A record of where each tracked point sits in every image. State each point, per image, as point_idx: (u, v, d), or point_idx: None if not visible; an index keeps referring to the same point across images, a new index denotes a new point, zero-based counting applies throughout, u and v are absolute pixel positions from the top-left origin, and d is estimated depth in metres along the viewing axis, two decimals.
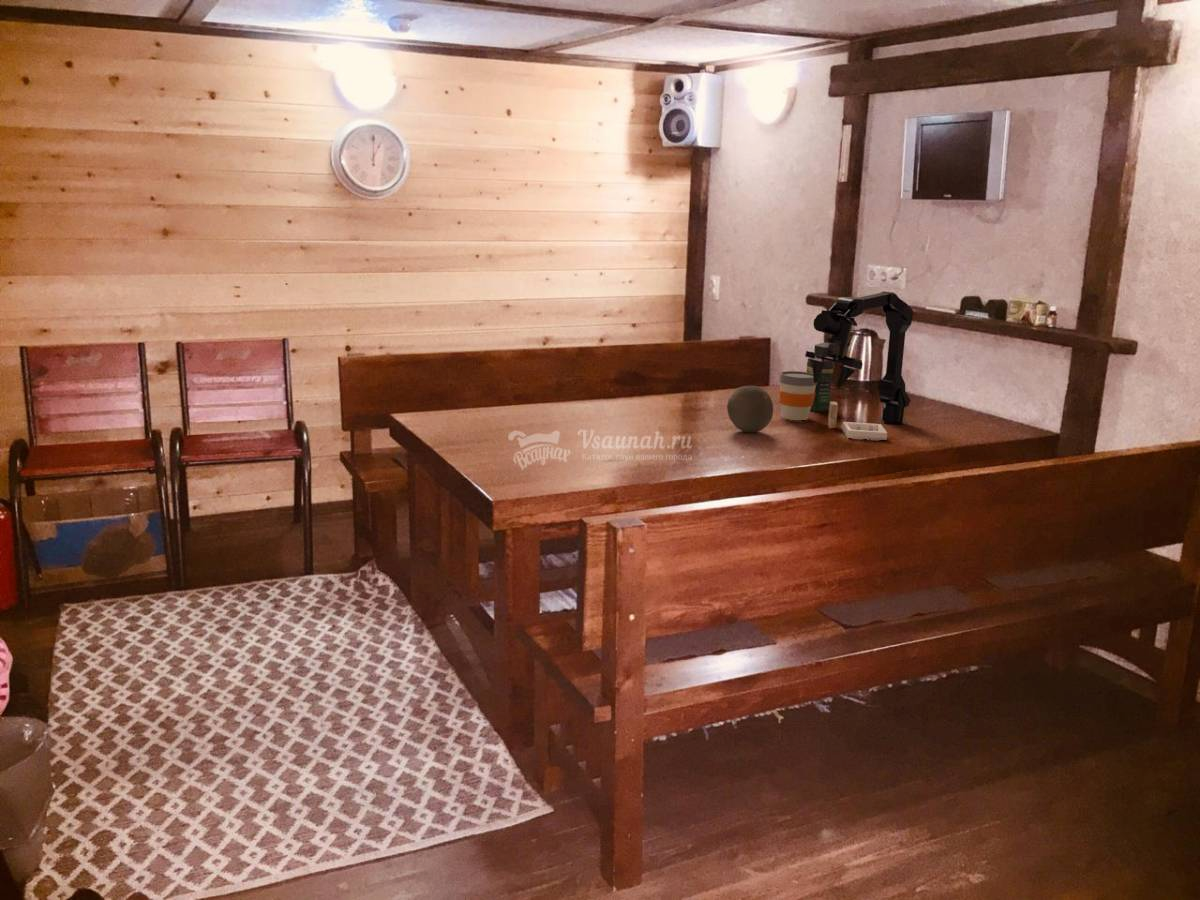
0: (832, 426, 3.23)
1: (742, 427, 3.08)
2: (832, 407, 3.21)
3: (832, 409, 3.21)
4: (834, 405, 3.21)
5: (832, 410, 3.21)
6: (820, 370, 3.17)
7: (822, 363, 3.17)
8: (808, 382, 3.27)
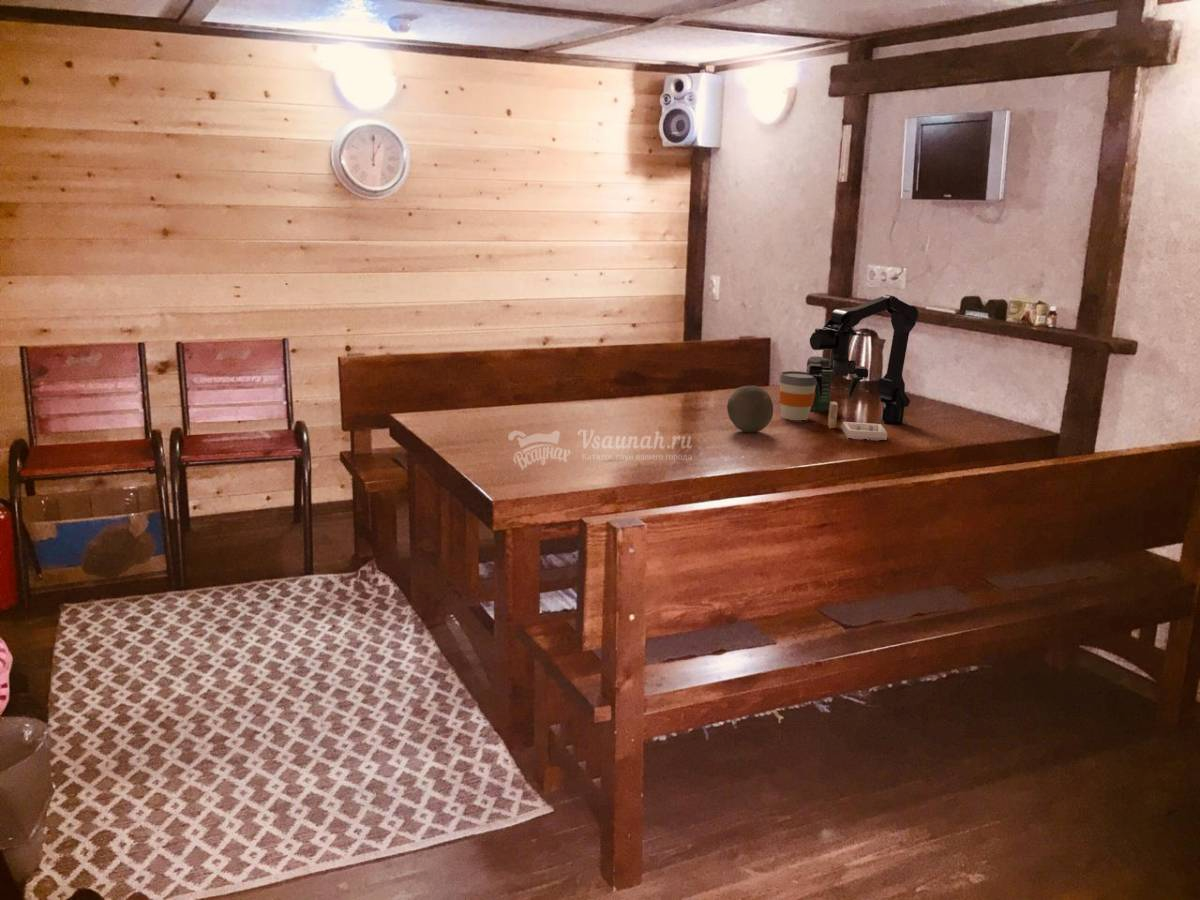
0: (832, 426, 3.23)
1: (742, 427, 3.08)
2: (832, 407, 3.21)
3: (832, 409, 3.21)
4: (834, 405, 3.21)
5: (832, 410, 3.21)
6: None
7: None
8: (808, 382, 3.27)
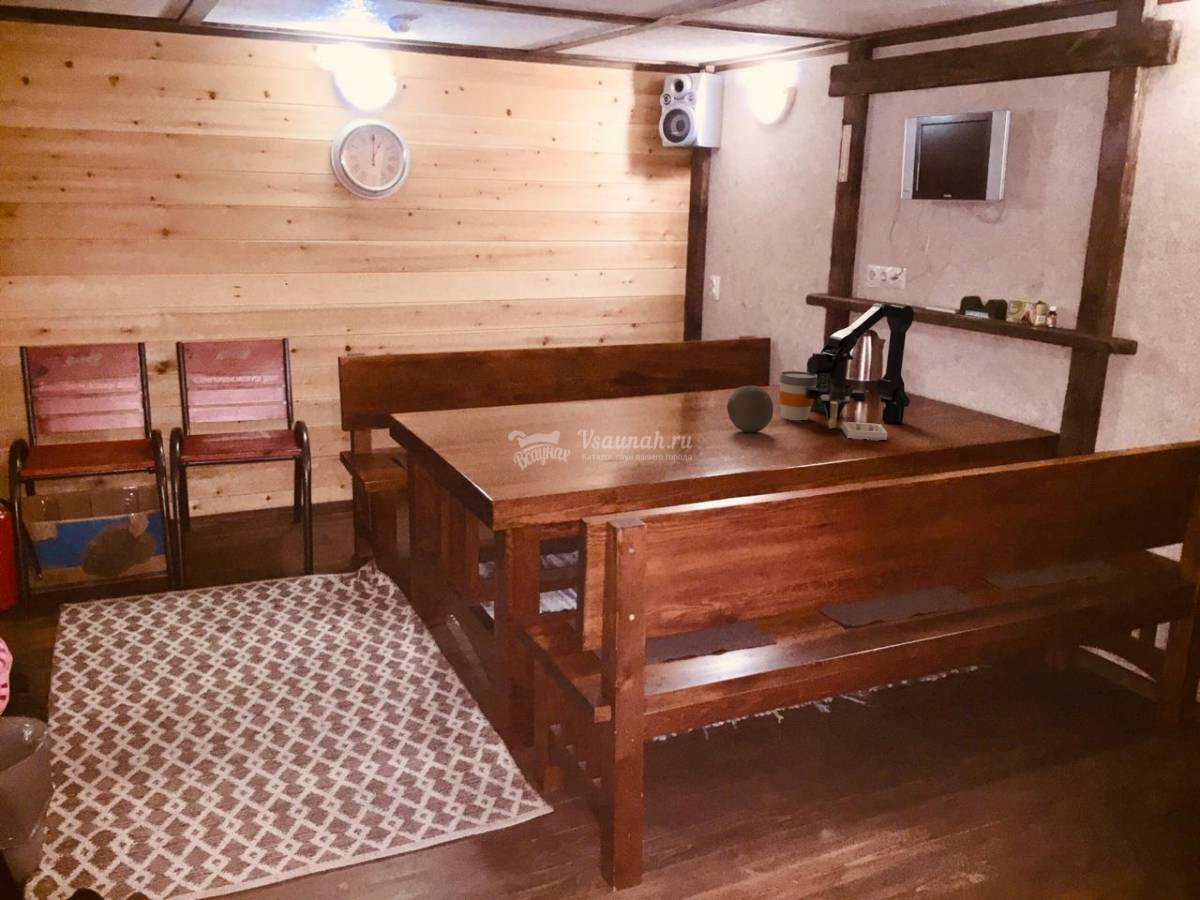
0: (832, 426, 3.23)
1: (742, 427, 3.08)
2: (832, 407, 3.21)
3: (832, 409, 3.21)
4: (834, 405, 3.21)
5: (832, 410, 3.21)
6: None
7: None
8: (808, 382, 3.27)
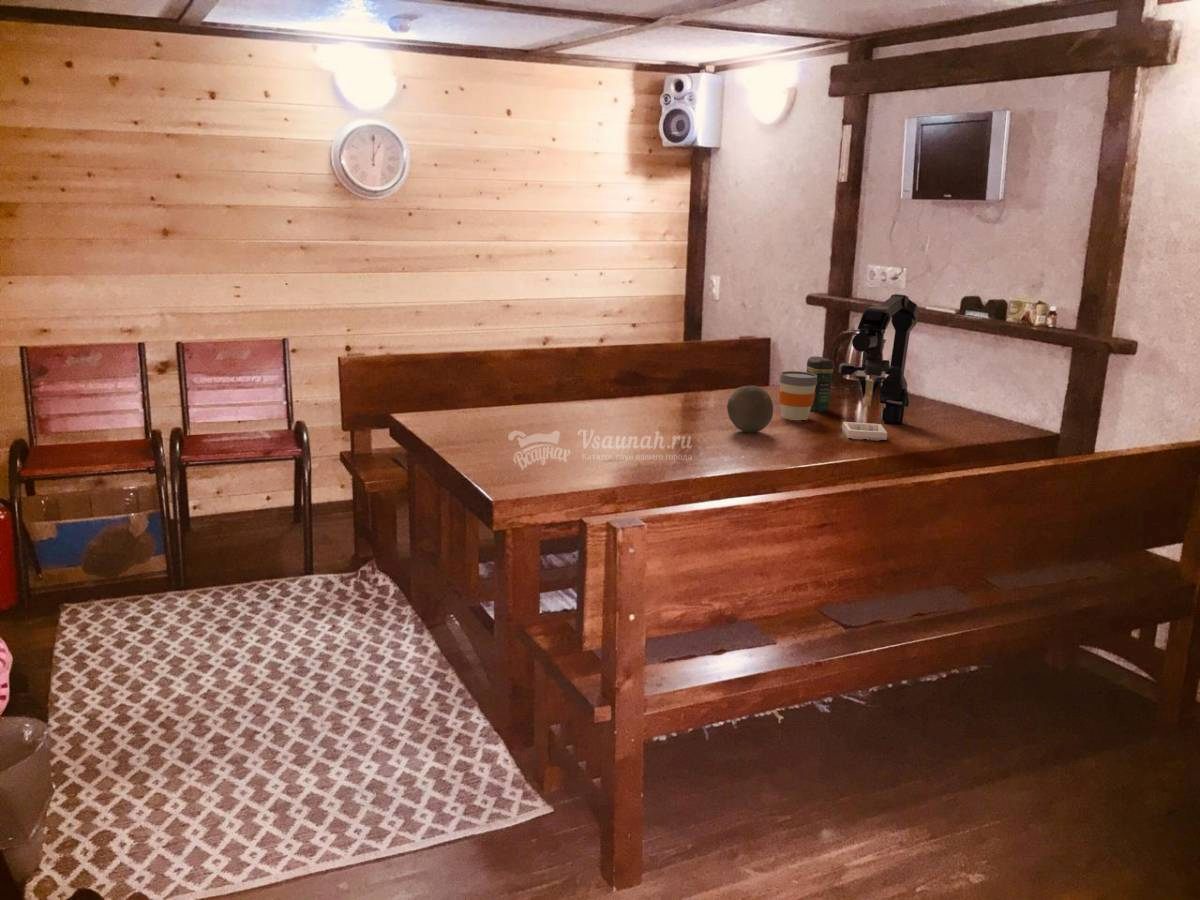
0: (867, 404, 3.11)
1: (742, 427, 3.08)
2: (867, 384, 3.09)
3: (867, 386, 3.10)
4: (869, 382, 3.09)
5: (867, 387, 3.10)
6: None
7: None
8: (808, 382, 3.27)
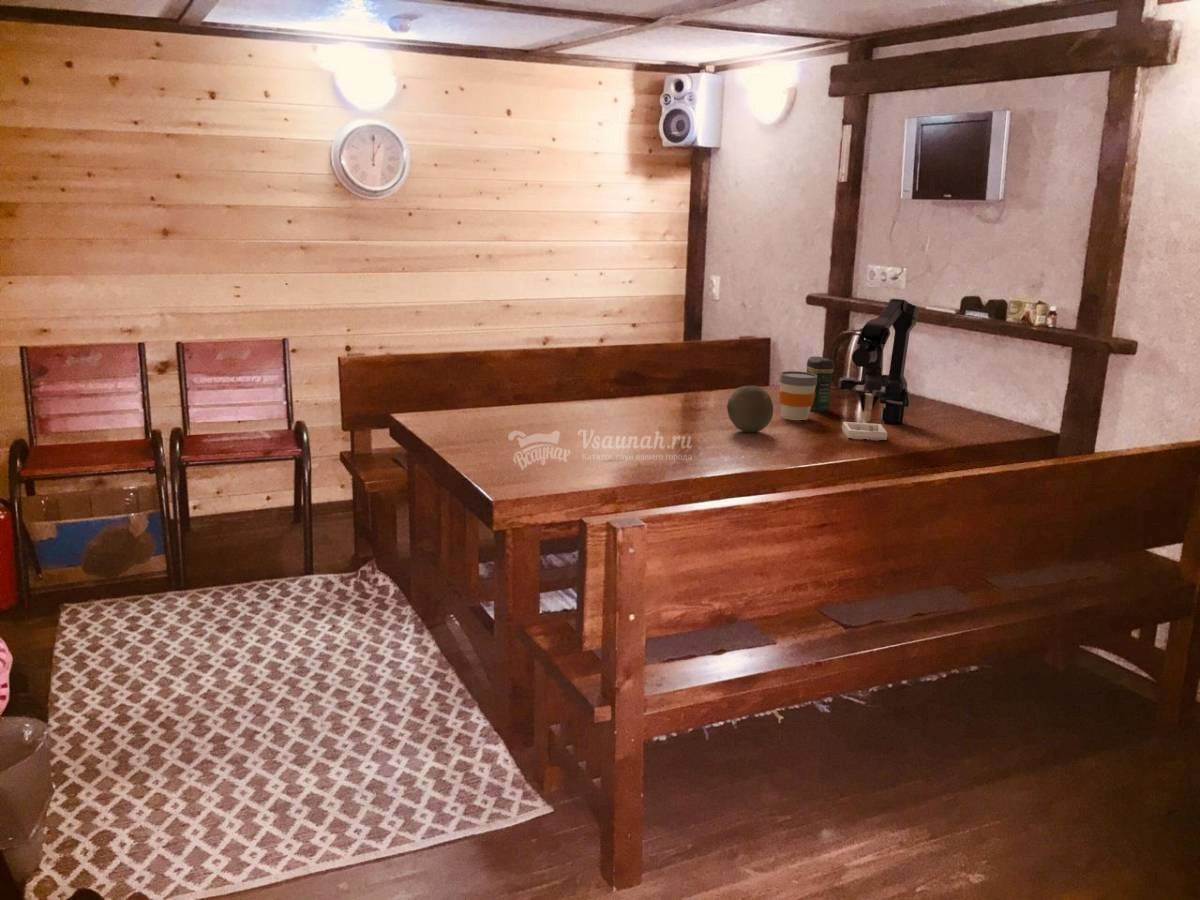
0: (867, 418, 3.12)
1: (742, 427, 3.08)
2: (867, 399, 3.10)
3: (867, 401, 3.10)
4: (869, 397, 3.10)
5: (867, 402, 3.10)
6: None
7: None
8: (808, 382, 3.27)
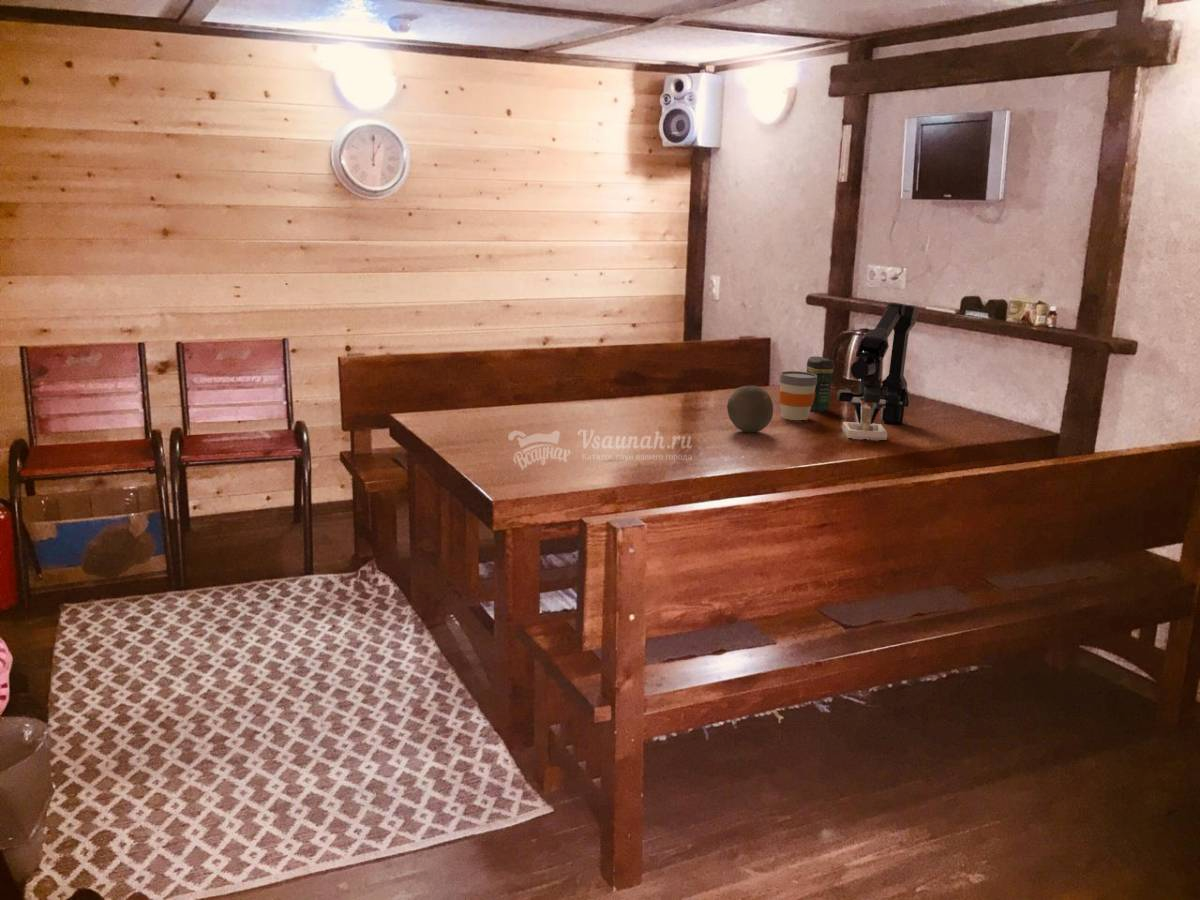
0: None
1: (742, 427, 3.08)
2: (865, 412, 3.11)
3: (865, 413, 3.11)
4: (868, 409, 3.11)
5: (865, 415, 3.11)
6: None
7: None
8: (808, 382, 3.27)
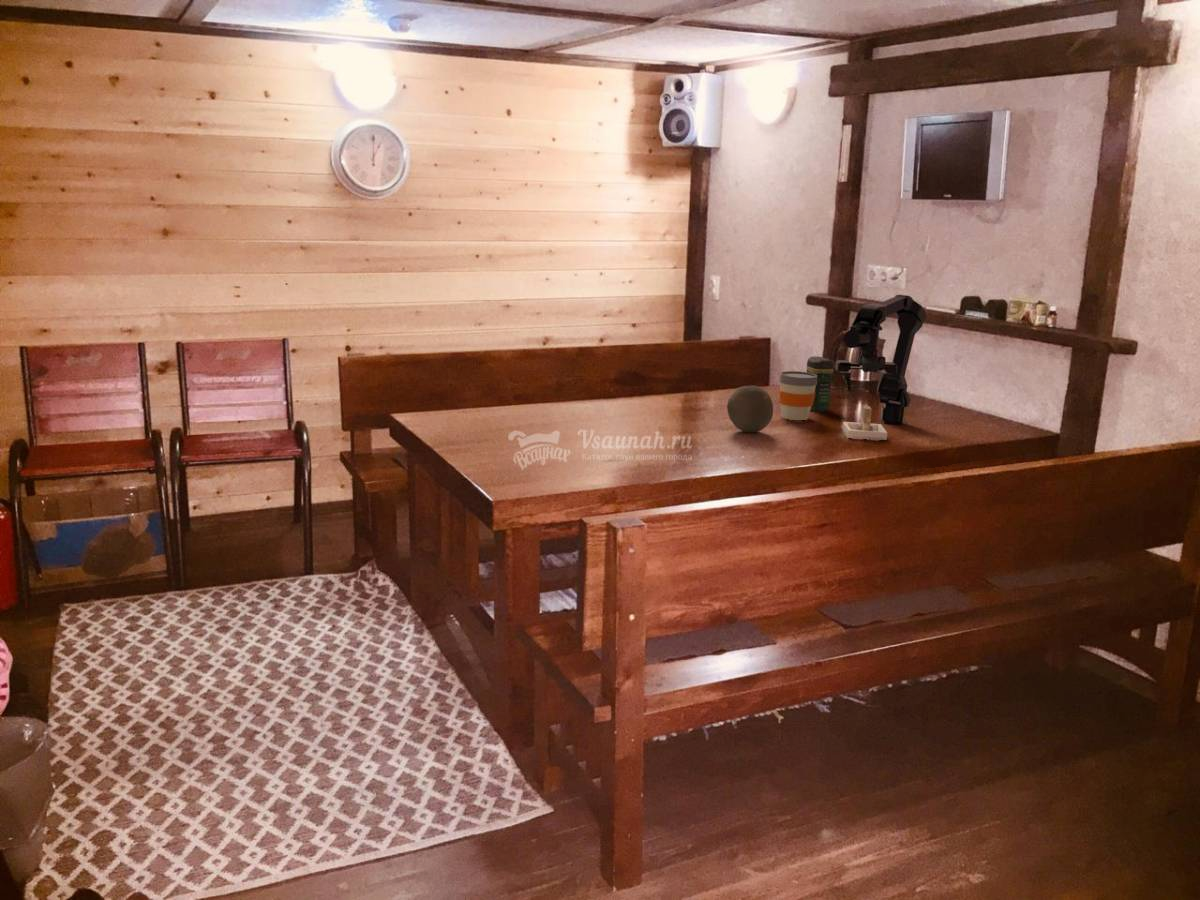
0: None
1: (742, 427, 3.08)
2: (865, 412, 3.11)
3: (865, 413, 3.11)
4: (868, 409, 3.11)
5: (865, 415, 3.11)
6: None
7: None
8: (808, 382, 3.27)
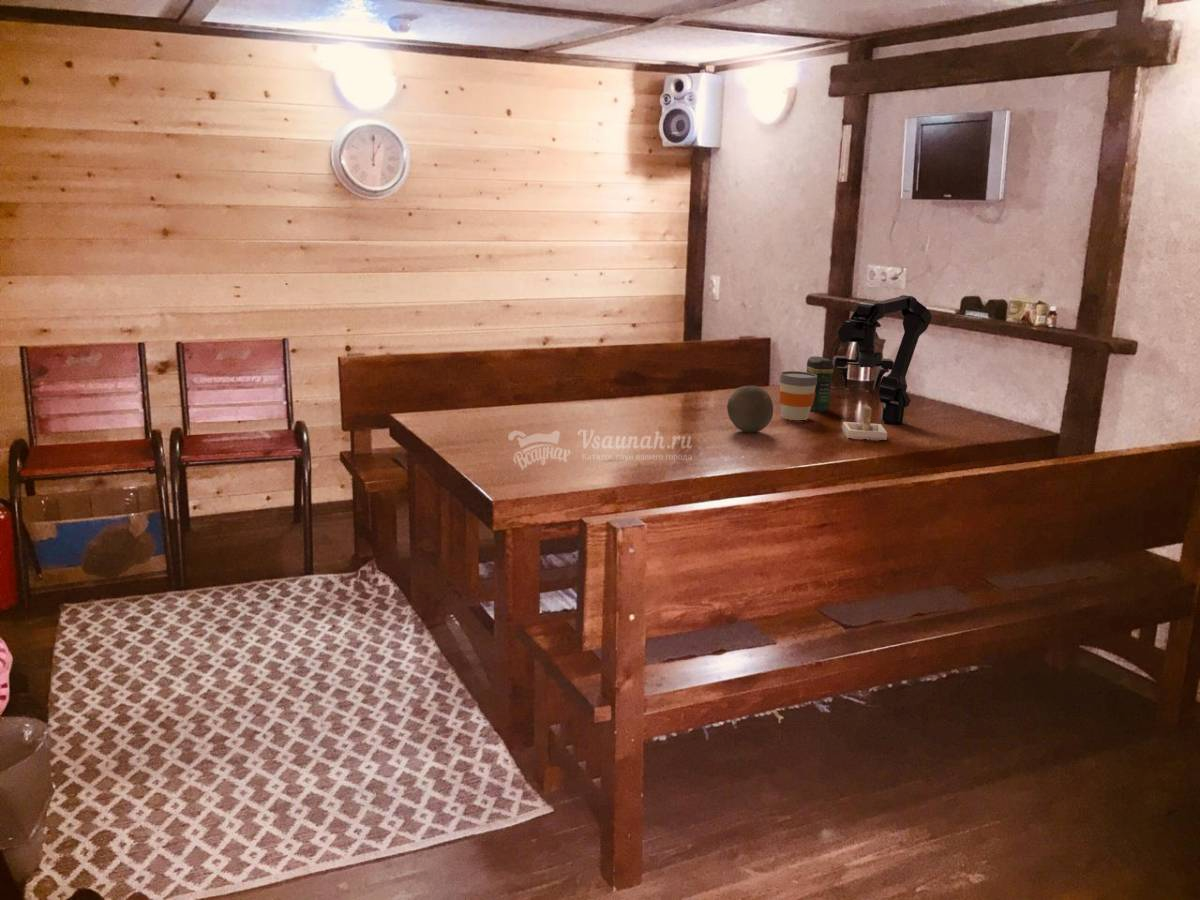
0: None
1: (742, 427, 3.08)
2: (865, 412, 3.11)
3: (865, 413, 3.11)
4: (868, 409, 3.11)
5: (865, 415, 3.11)
6: None
7: None
8: (808, 382, 3.27)
